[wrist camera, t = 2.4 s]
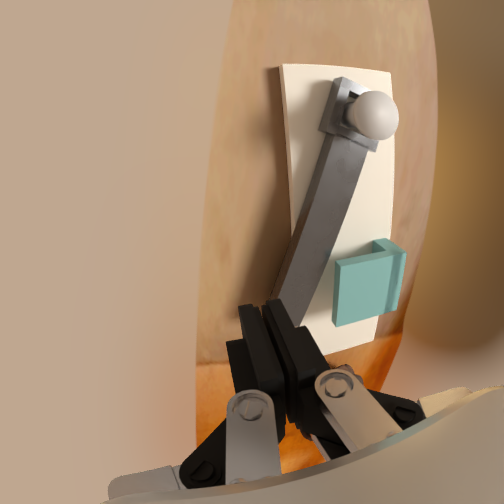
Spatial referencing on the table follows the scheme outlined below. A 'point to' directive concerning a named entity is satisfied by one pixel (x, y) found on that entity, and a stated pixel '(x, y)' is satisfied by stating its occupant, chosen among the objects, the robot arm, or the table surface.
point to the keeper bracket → (368, 283)
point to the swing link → (323, 203)
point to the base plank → (367, 189)
